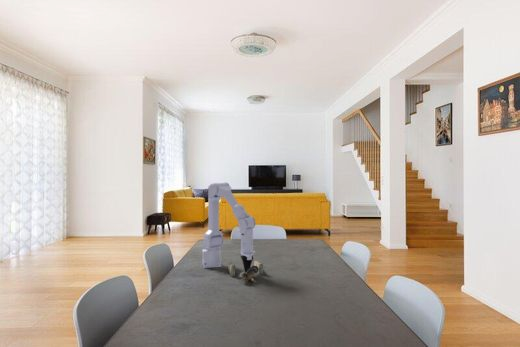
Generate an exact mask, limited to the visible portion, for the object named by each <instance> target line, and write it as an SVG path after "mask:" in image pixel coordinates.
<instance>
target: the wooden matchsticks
mask: <svg viewBox="0 0 520 347" xmlns="http://www.w3.org/2000/svg"><path fill="white" fill-rule="evenodd" d="M253 266H257V267H258V269H259V271H258V272H257V273H258V275H260V276H261V275H264V263H263V262H259V261H258V260H254V264H253ZM227 269H228V272H229V277H232V278H234V277H236V265H235V264H232V262H227Z"/></svg>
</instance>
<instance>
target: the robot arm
mask: <svg viewBox="0 0 520 347" xmlns="http://www.w3.org/2000/svg"><path fill="white" fill-rule="evenodd" d="M207 195H208V196H207V197H208V198H207V199H208V201H207V202H208V204H207V205H208V207H207V209H208V229H207V231H206V232H205V233H204V235H203V241H202V245H203V247H204V248H202V260H201V264H202V268H203V269H208V268H209V269H210V268H222V267H223V266H222V263H221V248H222V246H223V245H224V237H223V236H224V235H223V232H222V231H221V230H220V214H219V213H220V211H219V210H220V207H219V206H220V205H219V204H220V203H219V201H220V200H221V199H222V198H224V199H225V200H226V202H227V204H228V205H229V206H230V207H231V208H232V209H231V213H232V214H233V215H234V217H235V218H236V220H237V222H238V223H237V225H238V228H239V232H240V254H241V255H240V259H241V260H242V261H241V262H242V264H243V265H242V266H243V270H244V272H245V273H247V270H248V268H250V267H252V262H253V260H254V256H253V255H254V254H256V251H255V250H254V228H255V227H256V219H255V217H254V216H252V215H250V214H248V212H247V211H246V209H245V207H244V205H242V204H239V203H238V201H237V200H236V198H235V196H234V194H233V193H232V187H231V185H230V184H229V183H228V182H211V183H210V184H209V186H208V188H207Z"/></svg>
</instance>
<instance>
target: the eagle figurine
mask: <svg viewBox="0 0 520 347" xmlns="http://www.w3.org/2000/svg"><path fill="white" fill-rule="evenodd" d="M258 271H259V269H258V267H257V266H254V265H251V267H250V268H248V270H247V272H245V271H242V272H239V276H240V278H242V279H243V281H245V285H247V283H249V280H250V281H251V282H253V283H255V278H254V277H253V276H254V275H256V274H257V273H258Z"/></svg>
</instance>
